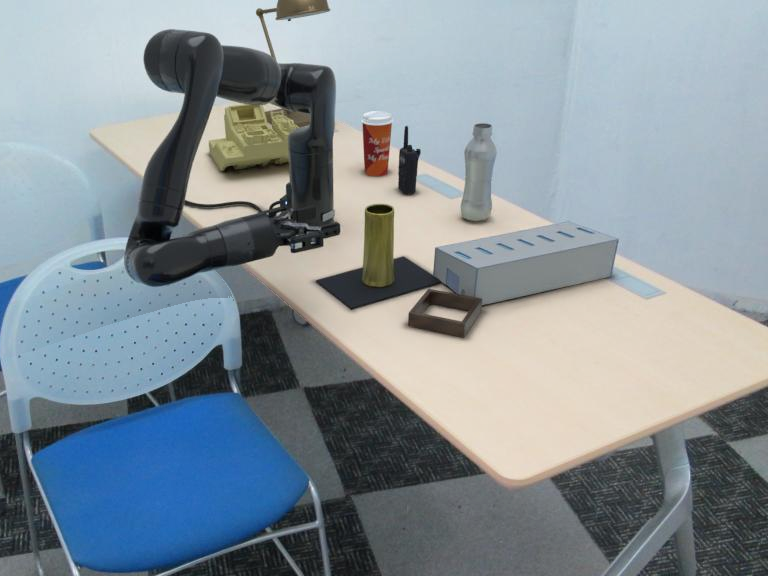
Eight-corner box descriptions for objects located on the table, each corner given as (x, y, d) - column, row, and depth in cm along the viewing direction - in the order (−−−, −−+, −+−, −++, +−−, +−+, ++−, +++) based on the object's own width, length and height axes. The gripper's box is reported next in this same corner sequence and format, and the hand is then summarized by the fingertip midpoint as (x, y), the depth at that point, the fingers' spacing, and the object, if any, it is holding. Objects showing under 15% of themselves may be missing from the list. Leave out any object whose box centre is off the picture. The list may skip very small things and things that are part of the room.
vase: (359, 274, 164) (360, 203, 156) (391, 272, 164) (393, 201, 156) (364, 289, 159) (365, 216, 151) (397, 287, 159) (399, 214, 151)
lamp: (294, 136, 237) (289, -11, 216) (241, 108, 261) (232, -26, 240) (341, 127, 242) (340, -17, 221) (284, 100, 267) (279, -32, 246)
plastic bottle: (490, 225, 182) (500, 131, 171) (458, 223, 184) (465, 130, 172) (491, 213, 188) (500, 121, 176) (460, 212, 189) (467, 120, 177)
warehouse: (564, 247, 172) (570, 212, 168) (611, 276, 161) (618, 239, 156) (433, 275, 163) (435, 237, 159) (473, 307, 152) (477, 268, 148)
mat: (351, 309, 153) (351, 307, 153) (315, 281, 163) (315, 280, 163) (442, 283, 161) (442, 281, 161) (403, 257, 170) (403, 256, 170)
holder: (407, 326, 148) (408, 312, 146) (427, 301, 155) (428, 288, 154) (463, 337, 144) (464, 324, 143) (481, 311, 151) (482, 298, 150)
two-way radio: (395, 188, 202) (397, 124, 193) (412, 186, 203) (415, 122, 194) (405, 196, 197) (407, 131, 189) (422, 193, 199) (426, 128, 190)
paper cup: (370, 180, 207) (371, 121, 199) (354, 170, 213) (355, 113, 205) (398, 173, 210) (400, 116, 202) (381, 165, 216) (382, 108, 208)
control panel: (198, 101, 218) (272, 84, 222) (207, 157, 229) (278, 140, 233) (223, 142, 202) (303, 124, 205) (232, 200, 213) (307, 182, 216)
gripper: (260, 234, 136) (347, 212, 142) (223, 205, 146) (306, 186, 152) (263, 276, 140) (347, 254, 146) (227, 246, 151) (307, 225, 157)
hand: (326, 219), depth 149 cm, fingers open, 8 cm apart
